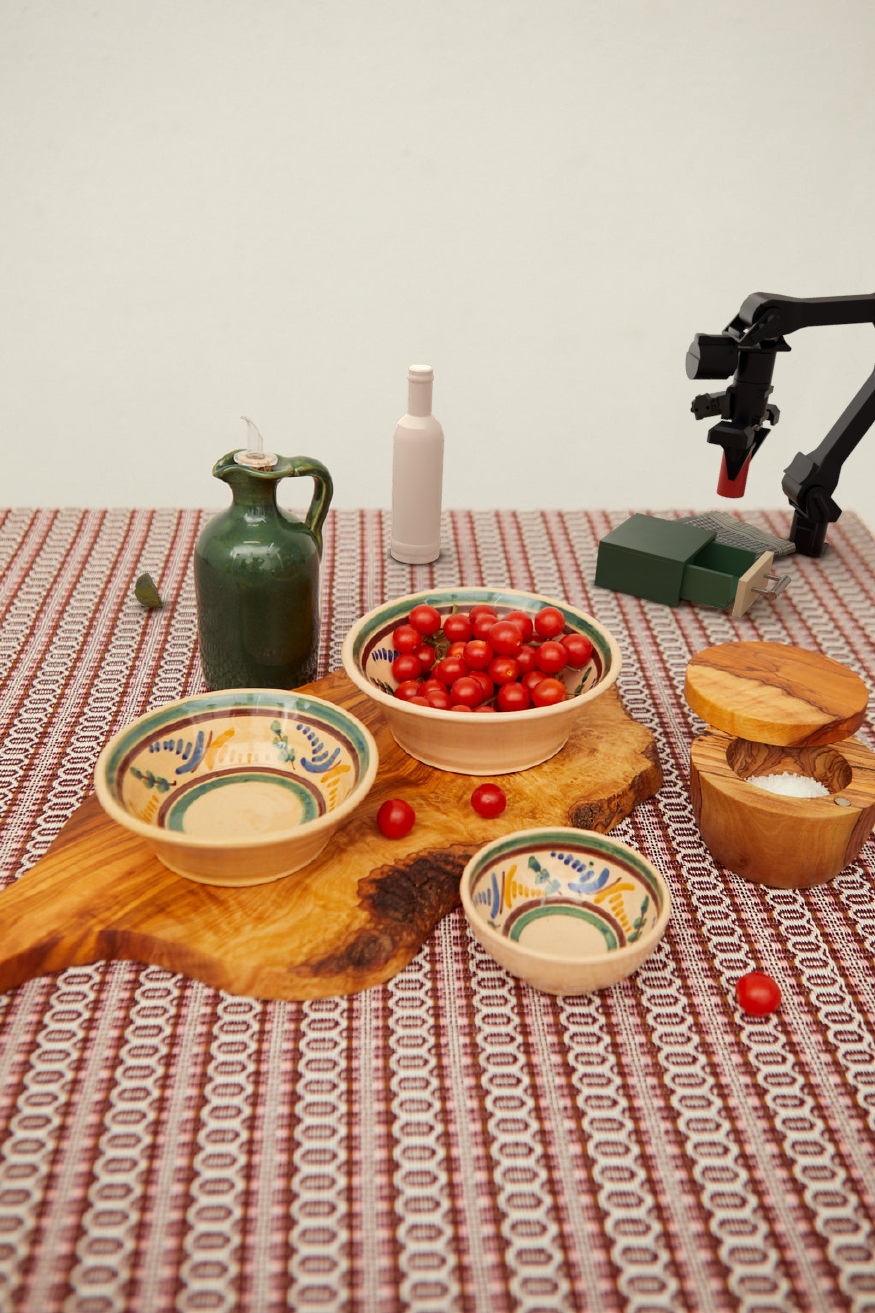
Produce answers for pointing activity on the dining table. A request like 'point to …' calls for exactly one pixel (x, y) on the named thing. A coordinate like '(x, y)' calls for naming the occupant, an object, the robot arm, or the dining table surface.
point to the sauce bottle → (732, 487)
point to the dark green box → (649, 557)
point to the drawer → (729, 577)
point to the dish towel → (739, 533)
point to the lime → (147, 592)
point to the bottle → (417, 475)
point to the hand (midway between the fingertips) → (735, 476)
